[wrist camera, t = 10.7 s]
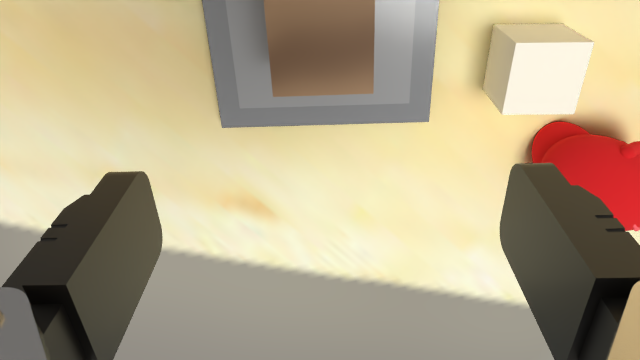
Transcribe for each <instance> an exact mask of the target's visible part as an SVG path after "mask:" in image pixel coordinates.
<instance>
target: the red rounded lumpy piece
mask: <svg viewBox="0 0 640 360" xmlns="http://www.w3.org/2000/svg"><path fill="white" fill-rule="evenodd" d="M532 160H533V163H553V164H554V165H555V166H556V167H557V168H558V170H559V171H560V172H561V173H562V175H563V176H564V177H565V178H566V180H567V181H568V182H569V183H570V185H579V186H581V187H582V188H584V189H585V190H587V191H589V192H590V193H592V194H593V195H595V196H597V197H598V198H600V199H601V200H602V201H603V203H604V204H605V205H606V206H607V207H608V209H609V210H610V211H611V212H612V213H613V214H614V218H617V219H618V220H619V222H620V223H621V224H622V225H623V226H624V227H625V231H628V230H634V231H639V230H640V141H637V142H633V143H630V144H627V143H625V142H624V141H620V140H617V139H614V138H610V137H606V136H601V135H591V134H589V133H588V132H587V131H586V130H584V129H583V128H581V127H579V126H577V125H575V124H572V123H568V122H553V123H550V124H548V125H546V126H544V127H543V128H542V129H541V130H540V131H539V132H538V133H537V135H536V136H535V138H534V141H533V145H532Z"/></svg>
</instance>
